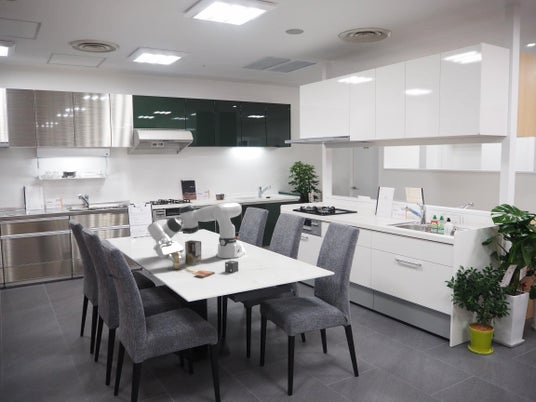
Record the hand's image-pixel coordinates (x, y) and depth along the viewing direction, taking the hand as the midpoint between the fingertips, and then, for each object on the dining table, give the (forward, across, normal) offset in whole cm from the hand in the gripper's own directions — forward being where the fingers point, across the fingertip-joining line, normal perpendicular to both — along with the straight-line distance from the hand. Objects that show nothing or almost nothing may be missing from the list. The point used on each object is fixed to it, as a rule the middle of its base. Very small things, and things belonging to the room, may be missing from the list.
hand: (177, 259), depth 286 cm
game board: (+12, 0, +2) cm, 12 cm away
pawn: (+3, 0, -4) cm, 5 cm away
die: (+27, -16, +16) cm, 35 cm away
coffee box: (+5, -17, -6) cm, 19 cm away
